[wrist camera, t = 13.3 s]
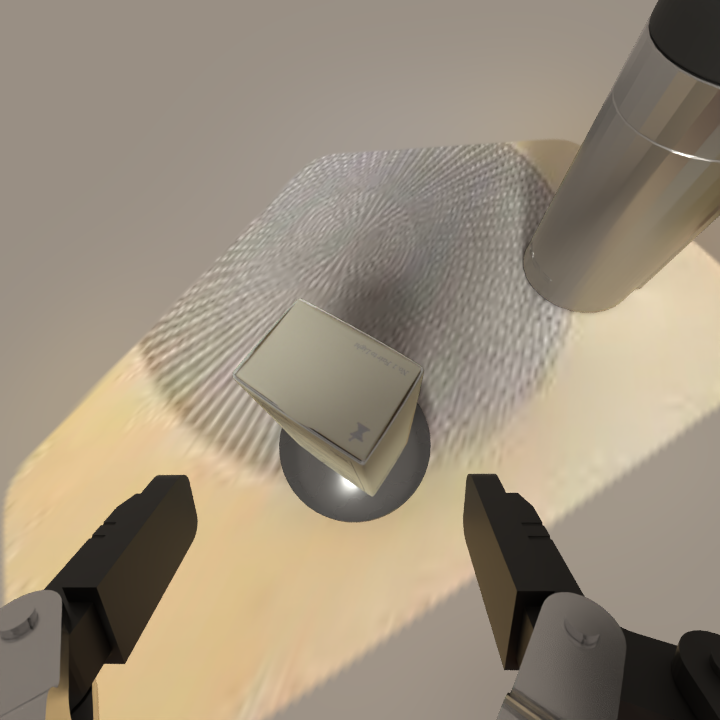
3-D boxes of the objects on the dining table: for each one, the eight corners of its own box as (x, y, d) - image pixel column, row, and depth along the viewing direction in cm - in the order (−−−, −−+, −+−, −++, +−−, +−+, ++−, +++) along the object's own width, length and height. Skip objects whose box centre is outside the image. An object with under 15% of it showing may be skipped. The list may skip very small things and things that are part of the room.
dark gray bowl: (407, 375, 30) (410, 359, 27) (440, 507, 26) (448, 504, 23) (282, 398, 30) (273, 384, 27) (296, 536, 25) (287, 536, 23)
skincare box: (408, 441, 25) (435, 368, 14) (371, 501, 23) (368, 472, 12) (331, 392, 26) (300, 290, 15) (292, 444, 25) (226, 374, 14)
